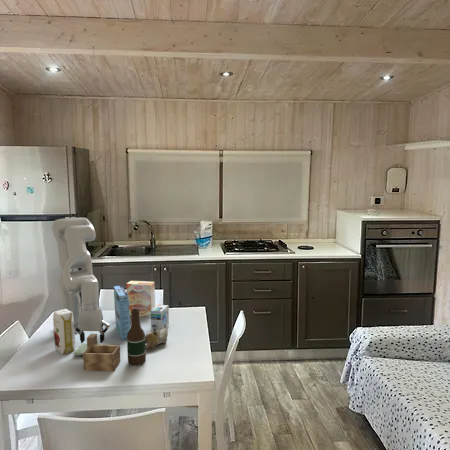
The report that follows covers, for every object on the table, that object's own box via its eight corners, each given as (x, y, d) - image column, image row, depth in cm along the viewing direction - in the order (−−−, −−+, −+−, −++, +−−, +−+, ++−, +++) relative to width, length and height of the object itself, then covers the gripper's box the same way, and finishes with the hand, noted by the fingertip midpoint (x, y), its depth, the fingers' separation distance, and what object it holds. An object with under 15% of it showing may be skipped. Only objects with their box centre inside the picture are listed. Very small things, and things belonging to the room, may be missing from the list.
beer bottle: (137, 367, 174) (135, 314, 171) (124, 363, 178) (122, 310, 175) (149, 360, 181) (148, 308, 178) (136, 356, 185) (134, 305, 182)
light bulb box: (162, 330, 215) (162, 311, 214) (150, 330, 217) (150, 310, 215) (169, 323, 226) (168, 304, 224) (157, 322, 227) (157, 304, 226)
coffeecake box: (127, 315, 238) (125, 283, 236) (131, 311, 245) (130, 280, 243) (151, 317, 236) (150, 284, 233) (155, 313, 243) (154, 281, 240)
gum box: (130, 338, 205) (129, 294, 202) (120, 340, 203) (118, 296, 200) (124, 325, 223) (122, 285, 220) (114, 327, 221) (113, 286, 218)
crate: (83, 370, 172) (82, 353, 171) (91, 361, 181) (90, 345, 180) (114, 371, 171) (113, 354, 170) (120, 361, 180) (119, 345, 179)
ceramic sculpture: (172, 327, 196) (144, 337, 187) (173, 344, 198) (146, 354, 189) (161, 321, 205) (134, 330, 196) (163, 337, 206) (135, 347, 197)
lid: (73, 357, 185) (72, 340, 184) (81, 348, 194) (81, 331, 193) (104, 357, 184) (103, 340, 183) (110, 348, 194) (110, 331, 193)
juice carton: (69, 345, 198) (67, 307, 195) (77, 350, 191) (74, 311, 189) (53, 350, 192) (51, 311, 190) (61, 355, 186) (58, 315, 184)
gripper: (68, 308, 183) (70, 345, 185) (106, 308, 182) (108, 345, 185) (75, 303, 191) (77, 338, 193) (111, 303, 190) (113, 338, 192)
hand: (92, 341), depth 189 cm, fingers open, 8 cm apart
